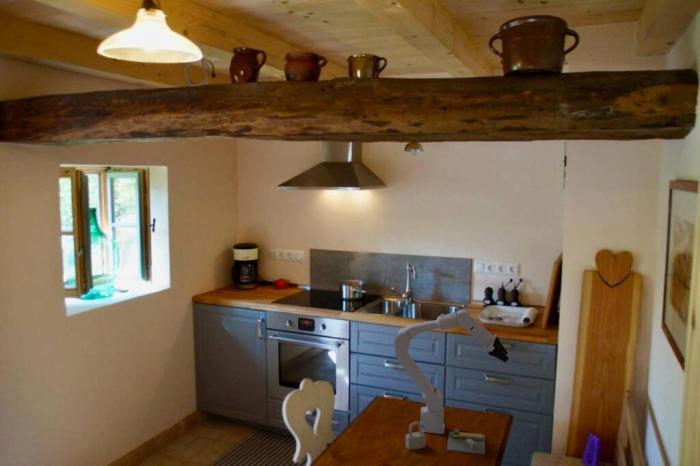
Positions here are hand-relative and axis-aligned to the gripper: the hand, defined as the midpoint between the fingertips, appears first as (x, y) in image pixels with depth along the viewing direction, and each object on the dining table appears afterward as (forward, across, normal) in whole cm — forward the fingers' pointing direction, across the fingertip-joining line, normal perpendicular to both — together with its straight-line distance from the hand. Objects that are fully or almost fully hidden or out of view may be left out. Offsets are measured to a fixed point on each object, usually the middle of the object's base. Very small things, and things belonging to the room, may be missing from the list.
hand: (506, 357), depth 224 cm
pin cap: (+6, -6, +35) cm, 36 cm away
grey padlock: (-4, -17, +47) cm, 50 cm away
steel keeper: (+11, -14, +32) cm, 37 cm away
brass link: (+10, -6, +33) cm, 35 cm away
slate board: (+10, -10, +34) cm, 37 cm away
